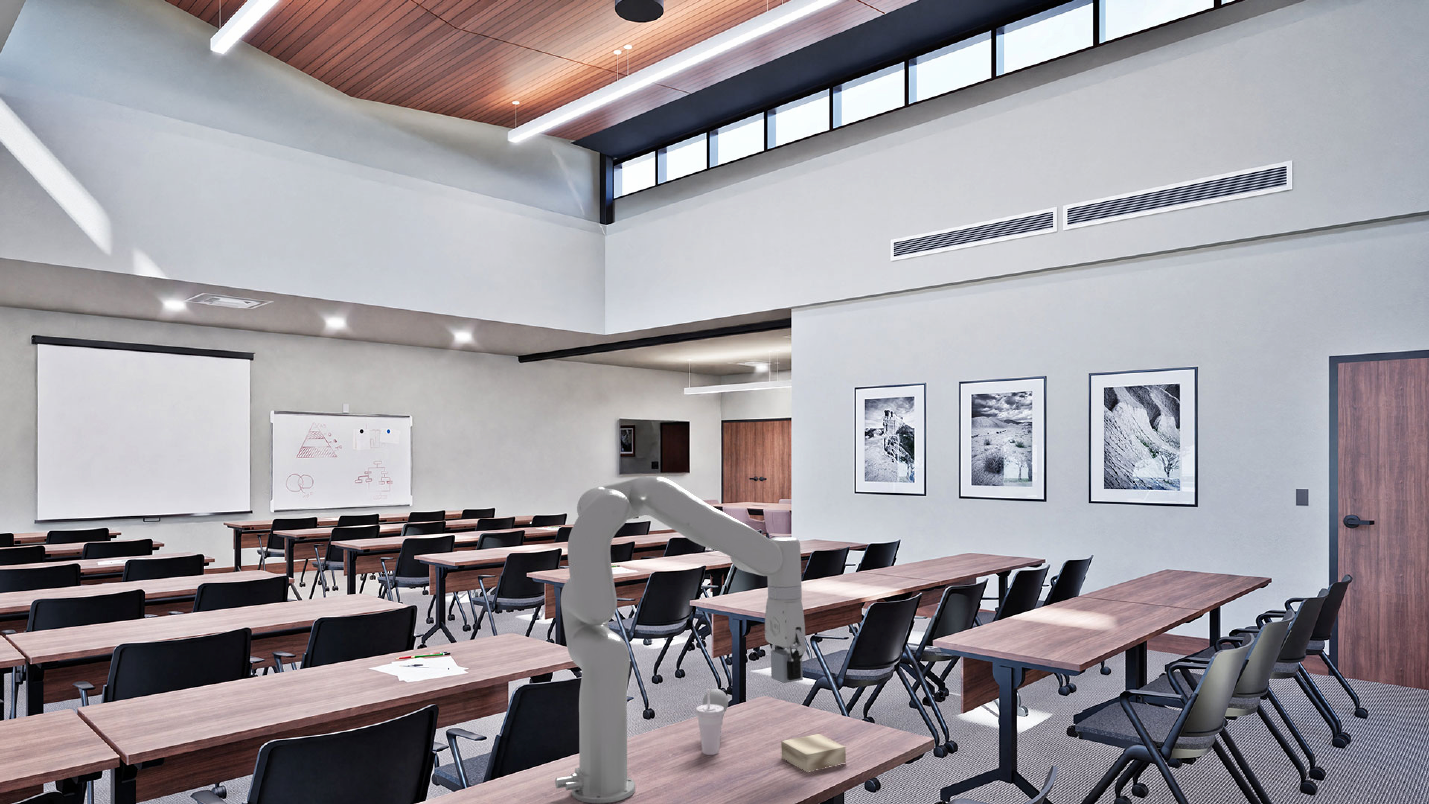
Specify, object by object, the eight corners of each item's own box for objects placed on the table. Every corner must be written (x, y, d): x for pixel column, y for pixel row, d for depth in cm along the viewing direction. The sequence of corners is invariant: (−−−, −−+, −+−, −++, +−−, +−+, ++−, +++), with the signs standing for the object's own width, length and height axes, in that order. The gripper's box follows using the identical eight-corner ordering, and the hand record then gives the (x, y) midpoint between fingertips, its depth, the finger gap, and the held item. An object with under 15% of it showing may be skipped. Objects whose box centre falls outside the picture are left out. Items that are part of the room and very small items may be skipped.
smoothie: (691, 754, 189) (690, 690, 190) (704, 745, 194) (704, 683, 195) (716, 758, 186) (715, 693, 187) (729, 749, 191) (728, 686, 192)
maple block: (806, 774, 177) (806, 754, 177) (781, 759, 186) (781, 741, 186) (845, 765, 181) (845, 746, 182) (819, 751, 190) (819, 733, 190)
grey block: (783, 683, 183) (783, 655, 184) (771, 678, 188) (770, 650, 188) (802, 679, 186) (802, 652, 186) (790, 674, 190) (789, 647, 190)
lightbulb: (699, 734, 202) (698, 687, 203) (722, 730, 205) (721, 684, 205) (709, 742, 197) (709, 693, 197) (733, 738, 199) (732, 690, 200)
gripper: (750, 589, 193) (752, 670, 192) (791, 600, 178) (794, 687, 177) (778, 586, 197) (780, 666, 196) (820, 596, 182) (823, 682, 181)
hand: (786, 675), depth 187 cm, fingers closed on grey block, 5 cm apart
